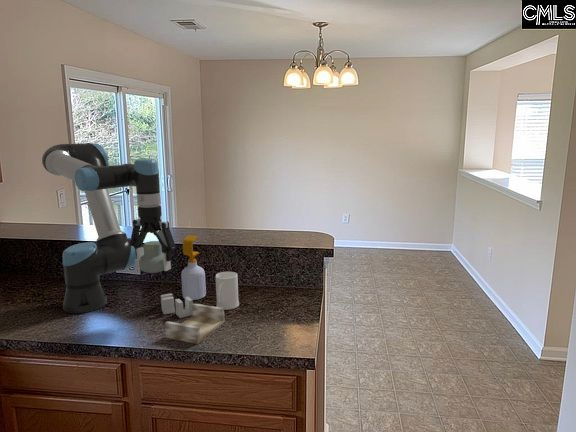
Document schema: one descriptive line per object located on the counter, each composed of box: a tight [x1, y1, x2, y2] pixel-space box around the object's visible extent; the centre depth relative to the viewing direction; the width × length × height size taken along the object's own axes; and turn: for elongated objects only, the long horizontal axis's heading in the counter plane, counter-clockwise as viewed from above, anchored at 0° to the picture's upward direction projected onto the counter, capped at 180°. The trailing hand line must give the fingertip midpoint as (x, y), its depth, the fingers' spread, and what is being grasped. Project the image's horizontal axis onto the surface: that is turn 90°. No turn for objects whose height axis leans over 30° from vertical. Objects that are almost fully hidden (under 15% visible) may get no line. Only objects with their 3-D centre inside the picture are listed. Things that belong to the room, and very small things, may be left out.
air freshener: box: [139, 240, 164, 274], centre depth 150 cm, size 11×8×10 cm
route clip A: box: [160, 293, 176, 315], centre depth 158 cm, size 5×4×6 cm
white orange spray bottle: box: [180, 234, 207, 301], centre depth 170 cm, size 9×9×25 cm
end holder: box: [164, 302, 226, 345], centre depth 144 cm, size 12×17×5 cm
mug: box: [215, 271, 240, 311], centre depth 161 cm, size 12×8×12 cm
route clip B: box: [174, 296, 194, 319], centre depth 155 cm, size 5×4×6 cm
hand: (154, 267), depth 151 cm, fingers closed on air freshener, 11 cm apart
